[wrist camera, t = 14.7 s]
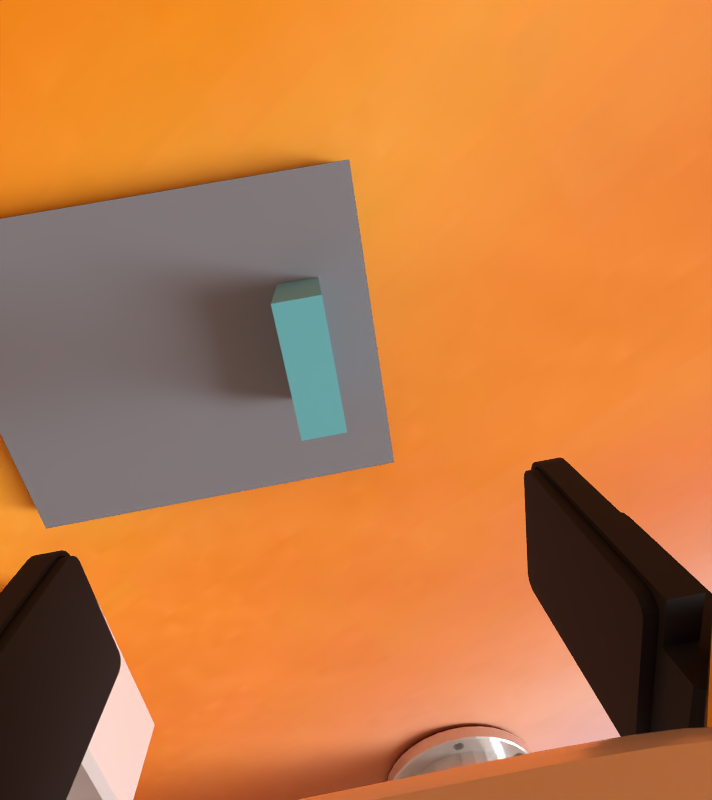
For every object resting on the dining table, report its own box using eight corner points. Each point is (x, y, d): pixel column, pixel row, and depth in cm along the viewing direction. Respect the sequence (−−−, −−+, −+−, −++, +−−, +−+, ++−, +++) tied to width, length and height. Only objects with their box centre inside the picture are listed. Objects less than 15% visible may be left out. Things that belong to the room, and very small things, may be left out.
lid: (388, 446, 30) (411, 513, 23) (62, 507, 29) (-7, 594, 23) (345, 162, 24) (361, 147, 17) (-65, 232, 23) (-208, 244, 17)
